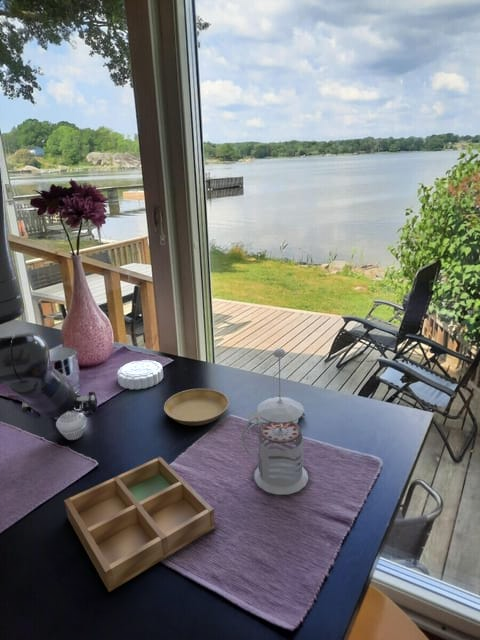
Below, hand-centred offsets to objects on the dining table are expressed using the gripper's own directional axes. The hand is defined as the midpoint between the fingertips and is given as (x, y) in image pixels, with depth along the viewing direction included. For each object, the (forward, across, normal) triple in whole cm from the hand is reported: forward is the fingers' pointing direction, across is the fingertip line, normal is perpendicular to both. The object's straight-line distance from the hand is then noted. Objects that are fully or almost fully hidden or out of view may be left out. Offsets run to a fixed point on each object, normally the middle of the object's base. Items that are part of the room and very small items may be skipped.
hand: (72, 414), depth 95 cm
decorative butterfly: (+1, -45, +6) cm, 45 cm away
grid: (-18, -16, +24) cm, 34 cm away
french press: (-13, -40, +19) cm, 46 cm away
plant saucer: (+5, -27, +2) cm, 27 cm away
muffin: (+2, 0, +4) cm, 5 cm away
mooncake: (+19, -12, -13) cm, 26 cm away
